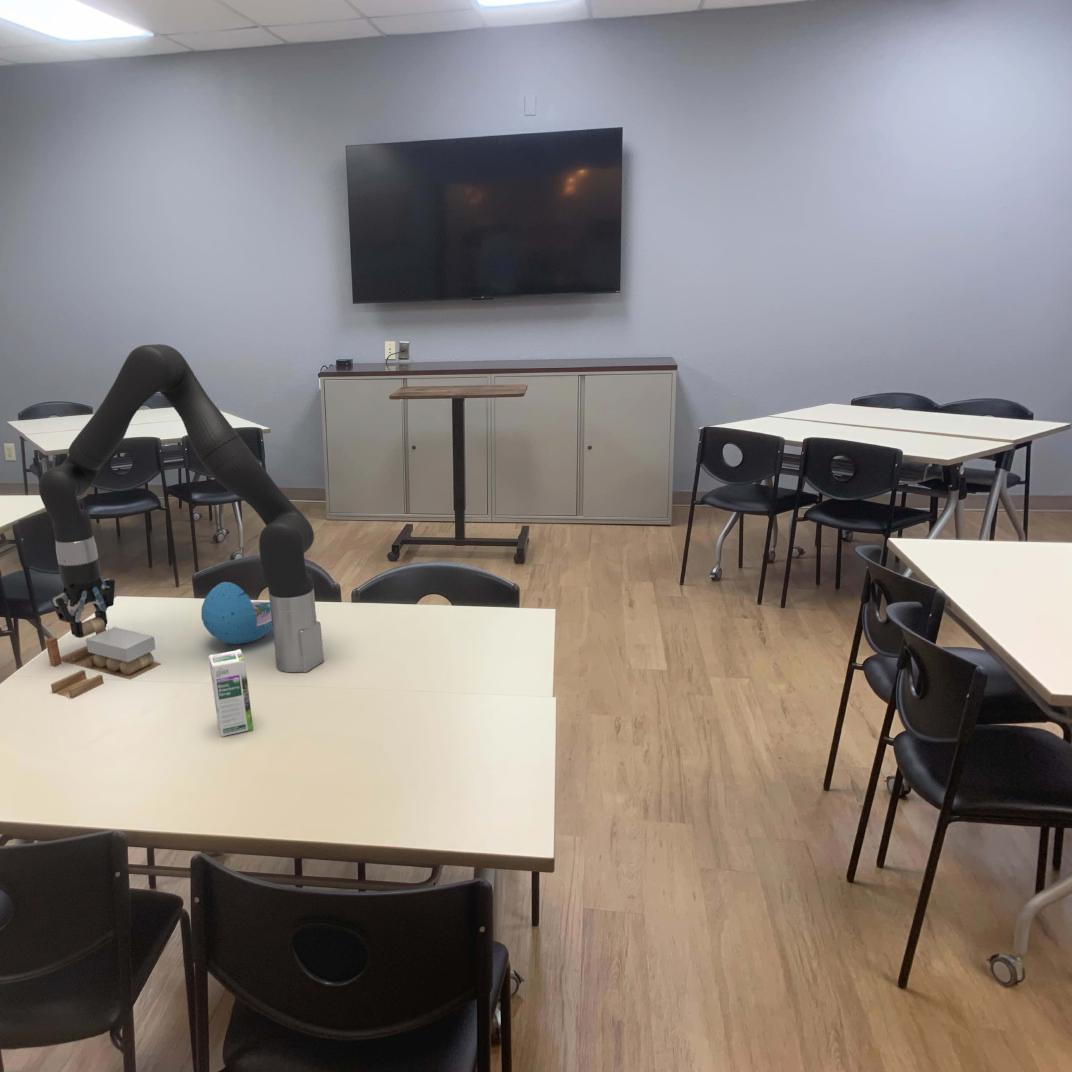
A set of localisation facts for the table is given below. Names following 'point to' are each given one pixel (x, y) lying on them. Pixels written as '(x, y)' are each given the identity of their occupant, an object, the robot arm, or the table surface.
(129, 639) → the slab
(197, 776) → the table surface
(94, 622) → the dowel
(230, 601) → the educational model
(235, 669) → the syrup box
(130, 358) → the robot arm
